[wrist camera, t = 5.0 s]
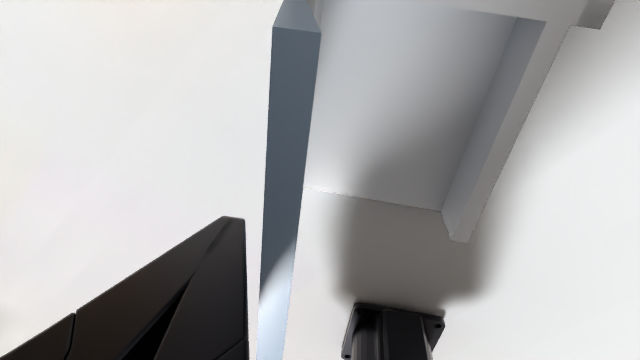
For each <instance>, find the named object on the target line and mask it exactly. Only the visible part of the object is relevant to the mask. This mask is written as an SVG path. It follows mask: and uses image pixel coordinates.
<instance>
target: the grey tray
mask: <svg viewBox="0 0 640 360" xmlns="http://www.w3.org/2000/svg"><path fill="white" fill-rule="evenodd" d="M614 1H615V0H307V2H308V5H309V7H310V9H311V11H312V13H313V15H314V18H315V20H316V22H317V24H318V26H319V28H320V30H321V33H322V34H321V42H320V50H319V59H318V67H317V75H316V84H315V92H314V100H313V109H312V117H311V125H310V134H309V142H308V150H307V159H306V167H305V175H304V183H303V188H305V189H311V190H317V191H323V192H329V193H335V194H341V195H347V196H353V197H359V198H364V199H370V200H376V201H382V202H388V203H394V204H400V205H406V206H412V207H418V208H423V209H429V210H435V211H441V213H442V216H443V219H444V222H445V225H446V228H447V231H448V234H449V237H450V240H451V241H455V242H461V243H467V242H468V240H469V238H470V236H471V234H472V232H473V230H474V227H475V225H476V223H477V221H478V219H479V217H480V215H481V213H482V211H483V208H484V206H485V204H486V202H487V200H488V198H489V196H490V194H491V192H492V189H493V187H494V185H495V183H496V181H497V179H498V177H499V175H500V173H501V170H502V168H503V166H504V164H505V162H506V160H507V158H508V156H509V154H510V151H511V149H512V147H513V145H514V143H515V141H516V139H517V137H518V135H519V132H520V130H521V128H522V126H523V124H524V122H525V120H526V118H527V116H528V113H529V111H530V109H531V107H532V105H533V103H534V101H535V99H536V97H537V94H538V92H539V90H540V88H541V86H542V84H543V82H544V80H545V78H546V75H547V73H548V71H549V69H550V67H551V65H552V63H553V61H554V59H555V56H556V54H557V52H558V50H559V48H560V46H561V44H562V42H563V40H564V37H565V35H566V33H567V31H568V29H569V27H570V25H574V26H580V27H587V28H594V29H600V28H601V26H602V24H603V22H604V21H605V19H606V17H607V15H608V13H609V11H610V9H611V7H612V5H613V3H614Z"/></svg>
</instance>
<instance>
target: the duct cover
mask: <svg viewBox="0 0 640 360" xmlns="http://www.w3.org/2000/svg"><path fill="white" fill-rule="evenodd" d="M321 34H322V33H321V30H320V28H319V26H318V24H317V22H316V20H315V18H314V15H313V13H312V11H311V9H310V7H309V5H308V2H307V0H284V1H283V3H282V5H281V8H280V10H279V12H278V15H277V17H276V20H275V22H274V24H273V29H272V49H271V69H270V90H269V110H268V130H267V151H266V171H265V191H264V212H263V232H262V252H261V273H260V293H259V313H258V333H257V354H256V360H282V358H283V350H284V341H285V333H286V325H287V316H288V308H289V300H290V291H291V283H292V275H293V267H294V258H295V250H296V242H297V233H298V225H299V217H300V208H301V200H302V192H303V183H304V175H305V167H306V159H307V150H308V142H309V134H310V125H311V117H312V109H313V100H314V92H315V84H316V75H317V67H318V59H319V50H320V42H321Z"/></svg>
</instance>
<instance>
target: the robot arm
mask: <svg viewBox="0 0 640 360" xmlns="http://www.w3.org/2000/svg"><path fill="white" fill-rule="evenodd" d="M444 328H445V322H444V319H443V318H442V317H438V316H433V315H427V314H422V313H416V312H410V311H405V310H399V309H394V308H388V307H382V306H377V305H371V304H366V303H356V304H355V305H354V307H353V311H352V315H351V318H350V322H349V325H348V329H347V333H346V336H345V340H344V344H343V347H342V352H341V357H342V358H343V359H344V360H433V358H432V351H433V349H434V347H435V345H436V344H437V342H438V340H439V338H440V336H441V334H442V332H443V330H444ZM248 337H249V336H248V301H247V266H246V231H245V220H244V219H242V218H235V217H229V216H222V217H220V218H218V219H217V220H215V221H214V222H212V223H211V224H209V225H208V226H206V227H205V228H203V229H201V230H200V231H198V232H197V233H195V234H194V235H192V236H191V237H189V238H187V239H186V240H184V241H183V242H181V243H180V244H178V245H177V246H175V247H173V248H172V249H170V250H169V251H167V252H166V253H164V254H163V255H161V256H160V257H158V258H156V259H155V260H153V261H152V262H150V263H149V264H147V265H146V266H144V267H142V268H141V269H139V270H138V271H136V272H135V273H133V274H132V275H130V276H128V277H127V278H125V279H124V280H122V281H121V282H119V283H118V284H116V285H115V286H113V287H111V288H110V289H108V290H107V291H105V292H104V293H102V294H101V295H99V296H97V297H96V298H94V299H93V300H91V301H90V302H88V303H87V304H85V305H83V306H82V307H80V308H79V309H77V311H76V314H75V313H71V314H69V315H68V316H66V317H65V318H63V319H61V320H60V321H58V322H57V323H55V324H54V325H52V326H51V327H49V328H47V329H46V330H44V331H43V332H41V333H39V334H38V335H36V336H35V337H33V338H31V339H30V340H28V341H26V342H25V343H23V344H22V345H20V346H18V347H17V348H15V349H14V350H12V351H10V352H9V353H7V354H5V355H3V356H2V357H0V360H249V341H248Z"/></svg>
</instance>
